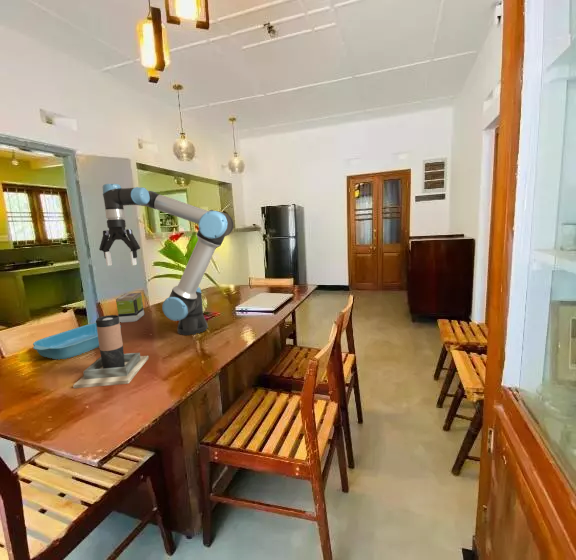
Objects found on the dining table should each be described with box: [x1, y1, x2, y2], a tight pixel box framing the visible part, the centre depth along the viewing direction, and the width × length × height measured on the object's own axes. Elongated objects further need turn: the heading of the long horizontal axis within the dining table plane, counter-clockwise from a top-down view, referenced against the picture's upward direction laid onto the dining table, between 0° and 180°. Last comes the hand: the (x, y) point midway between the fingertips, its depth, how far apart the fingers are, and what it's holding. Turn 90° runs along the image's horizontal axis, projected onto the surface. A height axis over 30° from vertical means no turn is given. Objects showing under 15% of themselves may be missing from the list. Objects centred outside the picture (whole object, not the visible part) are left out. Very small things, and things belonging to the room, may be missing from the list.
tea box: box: [115, 291, 145, 323], centre depth 195 cm, size 15×10×15 cm, turn 6°
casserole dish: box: [32, 322, 122, 361], centre depth 150 cm, size 37×22×7 cm, turn 157°
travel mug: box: [95, 314, 125, 369], centre depth 120 cm, size 8×8×20 cm
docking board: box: [73, 352, 149, 389], centre depth 122 cm, size 18×22×4 cm
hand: (121, 265), depth 151 cm, fingers open, 13 cm apart
